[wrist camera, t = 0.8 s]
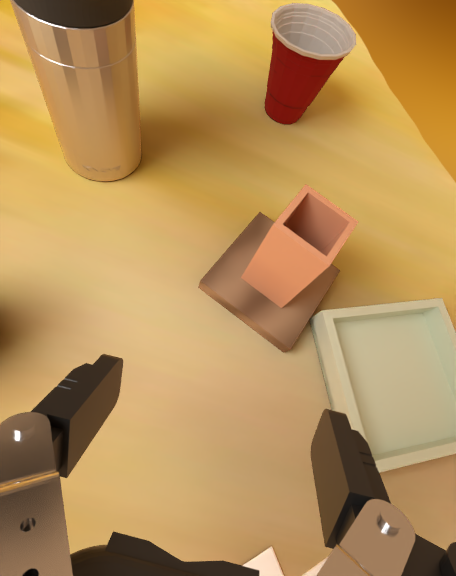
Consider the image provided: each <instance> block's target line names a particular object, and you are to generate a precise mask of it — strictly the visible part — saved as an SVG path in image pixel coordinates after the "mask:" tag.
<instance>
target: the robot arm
mask: <svg viewBox="0 0 456 576" xmlns="http://www.w3.org/2000/svg"><path fill="white" fill-rule="evenodd" d="M10 1H11V4H12V7H13V10H14V12H15V15H16V18H17V21H18V24H19V27H20V30H21V32H22V35H23V38H24V41H25V44H26V47H27V50H28V53H29V55H30V58H31V61H32V64H33V67H34V70H35V73H36V76H37V79H38V82H39V84H40V87H41V90H42V93H43V96H44V99H45V102H46V105H47V108H48V111H49V113H50V116H51V119H52V122H53V125H54V128H55V131H56V134H57V137H58V140H59V143H60V146H61V149H62V152H63V154H64V157H65V160H66V162H67V163H68V165H69V166H70V167H71V168H72V169H73V170H74V171H75V172H76V173H78V174H79V175H81V176H83V177H85V178H88V179H91V180H95V181H114V180H118V179H121V178H124V177H126V176H128V175H129V174H131V173H132V172H133V171H134V170H135V169H136V168H137V167H138V165H139V163H140V161H141V155H142V153H141V132H140V109H139V89H138V69H137V49H136V33H135V13H134V0H10ZM122 368H123V359H122V358H118V357H114V356H110V355H106V354H103V355H101V356H100V358H99V359H98V360H97V361H96V362H95V363H94V364H93V365H91V364H87V363H86V364H84V365H81V366H79V367H77V368H75V369H73V370H72V371H71V372H70V373H69V374H68V375H67V376H66V377H65V379H64V380H62V381H61V382H60V383H59V384H58V386H57V387H55V388H54V389H53V390H52V391H51V392H50V393H49V394H48V395H47V396H46V397H45V398H44V399H43V400H42V401H41V402H40V403H39V404H38V405H37V406H36V407H35V408H34V409H33V410H32V411H31V412H25V413H20V414H17V415H14V416H12V417H9V418H8V419H6V420H5V421H3V422H2V423H1V424H0V576H259V570H256V569H252V568H248V567H245V566H241V565H237V564H233V563H230V562H226V561H201V562H184V561H181V560H179V559H177V558H176V557H174V556H172V555H171V554H169V553H168V552H166V551H164V550H163V549H161V548H159V547H158V546H156V545H154V544H153V543H151V542H149V541H147V540H143V539H139V538H135V537H132V536H128V535H124V534H120V533H117V532H113V533H112V535H111V538H110V540H109V542H108V545H99V546H93V547H89V548H85V549H82V550H80V551H77V552H75V553H72V554H71V555H70V550H69V543H68V535H67V528H66V520H65V513H64V505H63V498H62V490H61V483H60V476H61V477H65V478H67V477H68V476H69V474H70V473H71V471H72V470H73V468H74V467H75V465H76V464H77V462H78V461H79V459H80V458H81V456H82V455H83V453H84V452H85V450H86V449H87V447H88V446H89V444H90V443H91V441H92V440H93V438H94V437H95V435H96V434H97V432H98V431H99V429H100V428H101V426H102V425H103V423H104V422H105V420H106V419H107V417H108V416H109V414H110V413H111V411H112V410H113V408H114V406H115V404H116V402H117V400H118V397H119V393H120V385H121V377H122ZM311 461H312V467H313V473H314V480H315V486H316V492H317V499H318V505H319V511H320V517H321V524H322V530H323V536H324V543H325V547H329V548H333V551H332V552H331V554H330V555H329V557H328V558H327V560H326V561H325V563H324V564H323V566H322V568H321V569H320V571H319V572H318V574H317V575H316V576H456V542H454V543H452V544H450V546H449V547H448V549H447V550H444V549H442V548H440V547H438V546H436V545H434V544H433V543H431V542H429V541H427V540H425V539H423V538H422V537H420V536H418V535H417V534H415V532H414V529H413V527H412V525H411V523H410V521H409V520H408V519H407V517H406V516H405V515H404V514H403V513H402V512H401V511H400V510H399V509H398V508H396V507H395V506H393V505H392V504H391V503H390V500H389V497H388V495H387V492H386V490H385V487H384V484H383V482H382V479H381V476H380V474H379V471H378V469H377V467H376V463H375V461H374V458H373V457H372V453H371V450H370V448H369V445H368V443H367V441H366V440H365V439H364V438H363V436H362V435H361V434H360V433H359V431H356V430H352V429H351V426H350V423H349V420H348V417H347V415H346V414H345V413H340V412H336V411H332V410H328V409H325V410H324V411H323V413H322V416H321V419H320V421H319V424H318V427H317V430H316V432H315V435H314V438H313V441H312V445H311Z"/></svg>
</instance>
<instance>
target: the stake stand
mask: <svg viewBox="0 0 456 576" xmlns="http://www.w3.org/2000/svg"><path fill="white" fill-rule="evenodd" d="M274 223H275V222H273V221H272V220H271V219H269V218H268V217H267V216H265V215H264V214H262V213H261V212H259V213H258V215H257V216H256V217H255V218H254V219H253V220H252V222H251V223H250V224H249V225H248V226H247V227H246V228H245V230H244V231H243V232H242V233H241V234H240V235H239V237H238V238H237V239H236V240H235V241H234V242H233V244H232V245H231V246H230V247H229V248H228V249H227V250H226V252H225V253H224V254H223V255H222V256H221V257H220V259H219V260H218V261H217V262H216V263H215V264H214V266H213V267H212V268H211V269H210V270H209V271H208V273H207V274H206V275H205V276H204V277H203V278H202V279H201V281H200V284H199V287H198V288H200V289H201V290H202V291H204V292H205V293H206V294H208V295H209V296H210V297H212V298H213V299H214V300H215V301H217V302H218V303H219V304H221V305H222V306H223V307H225V308H226V309H227V310H229V311H230V312H231V313H233V314H234V315H235V316H236V317H238V318H239V319H240V320H242V321H243V322H244V323H246V324H247V325H248V326H250V327H251V328H252V329H253V330H255V331H256V332H257V333H259V334H260V335H261V336H263V337H264V338H265V339H267V340H268V341H269V342H271V343H272V344H273V345H274V346H276V347H277V348H278V349H280V350H281V351H282V352H286V351H288V350H290V349H291V348H292V346H293V345H294V343H295V341H296V340H297V338H298V337H299V335H300V333H301V332H302V330H303V329H304V327H305V326H306V324H307V322H308V321H309V319H310V318H311V316H312V314H313V313H314V311H315V310H316V308H317V306H318V305H319V303H320V302H321V300H322V299H323V297H324V295H325V294H326V292H327V291H328V289H329V287H330V286H331V284H332V283H333V281H334V279H335V278H336V276H337V275H338V273H339V272H340V270H339V269H337V268H336V267H335V266H333V265H332V264H330V266H329V267H328V268H327V269H326V270H324V271H323V272H322V273H321V274H320V275H319V276H318V277H316V278H315V279H314V280H313V281H312V282H311V283H310V284H309V285H307V286H306V287H305V288H304V289H303V290H302V291H301V292H299V293H298V294H297V295H296V296H295V297H294V298H293V299H292V300H290V301H289V302H288V303H287V304H286V305H285V306H284V307H282V308H280V307H279V306H278V305H276V304H275V303H274V302H272V301H271V300H270V299H268V298H267V297H266V296H264V295H263V294H262V293H260V292H259V291H258V290H256V289H255V288H254V287H252V286H251V285H250V284H248V283H247V282H246V281H245V280H243V279H242V278H241V277H242V275H243V273H244V272H245V270H246V268H247V267H248V265H249V263H250V262H251V260H252V258H253V257H254V255H255V253H256V252H257V250H258V248H259V247H260V245H261V243H262V242H263V240H264V238H265V237H266V235H267V233H268V232H269V230H270V228H271V227H272V225H273V224H274Z"/></svg>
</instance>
